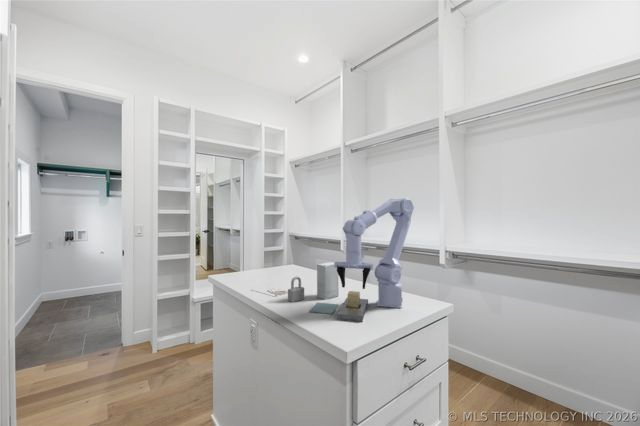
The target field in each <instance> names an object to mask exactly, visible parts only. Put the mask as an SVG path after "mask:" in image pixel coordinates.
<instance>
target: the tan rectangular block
mask: <svg viewBox="0 0 640 426" xmlns="http://www.w3.org/2000/svg"><path fill="white" fill-rule="evenodd" d="M360 294H361V292H360V291H353V290H349V291H348V293H347V298H348V308H357V309H360V299H361V295H360Z"/></svg>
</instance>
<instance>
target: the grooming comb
mask: <svg viewBox="0 0 640 426" xmlns="http://www.w3.org/2000/svg"><path fill="white" fill-rule="evenodd" d="M271 291H272V290H271ZM271 291H269V290H267V292H269V293H271V294H274V295H275V296H274V297H278V296H277V295H280V296H282V294H283V295H286V294H288V290H284V291H275V292H273V291H272V292H271ZM286 291H287V292H286Z"/></svg>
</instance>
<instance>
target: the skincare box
mask: <svg viewBox="0 0 640 426" xmlns="http://www.w3.org/2000/svg"><path fill="white" fill-rule="evenodd" d="M334 263H335V262H332V261H327V262H324V263H318V264H316V296H317V297H316V298H320V299H322V300H324V301H326V300H329V299H331V298H336V297H339V274H338V272H337V268H334Z"/></svg>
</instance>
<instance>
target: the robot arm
mask: <svg viewBox="0 0 640 426" xmlns="http://www.w3.org/2000/svg"><path fill="white" fill-rule="evenodd" d="M414 209H415V206H414V204H413V201H412V200H411V199H410V198H409V197H405V198H389V199H388V200H386V201H385V202H384V203H382V204H381V205H380V206H378V207H376V208H375V209H374V210H363V211H362V214H359V215H358V216H357V215H356V216H353V219H349V220H347V221H345V223H344V225H343V227H342V231H343V232H344V235H345V255H346V256H345V261H335V262H333V263H334V268H337V272H338V278H339V280H340V282H341V288H345V287H346V278H345V277H346V269H360V270H362V290H365V289H366V284H367V279H368V278H369V274H370V272H371V270H374V276H375V278H376V279H377V282H378V283H377V284H378V290H377V291H378V293H377V294H378V297H377V298H378V299H377V303H376V307H385V308H398V309H402V304H403V297H402V296H403V295H402V294H403V293H402V290H403V289H402V286H403V285H402V283H400V280H401V276H402V275H401V274H402V269H403V267H402V265H401V264H400V262H399V260H400V256H401V254H402V251H403V247H404V244H405V242H406V238H407V236H408V232H409V229H410V226H411V222H412V216H413V212H414ZM387 214H390V216H391V217H392V219H393V220H394V221H395V222H396V223H395V225H394V229H393V232H392V235H391V238H390V240H389V241H390V242H389V244H388V247H387V250H386V254H385V256H384V257H382V258H381V259H380V260H379V262H378V264H377V266H375V268H374V263H370V262H369V263H368V262H362V235H363V234H364V233H365V230H366V229H369V228H370V227H371V226H373V225H375V224H376V223H377V220H378V219H379V218H381V217H383V216H385V215H387Z"/></svg>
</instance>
